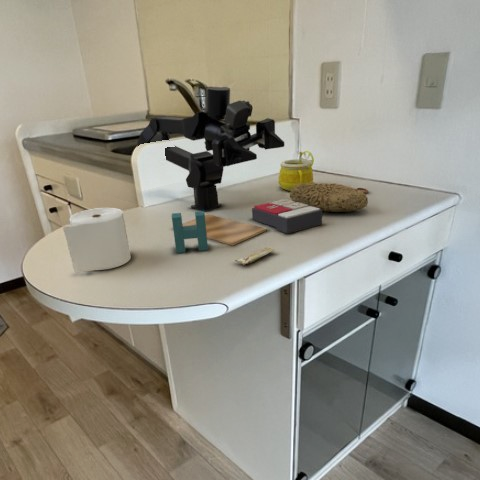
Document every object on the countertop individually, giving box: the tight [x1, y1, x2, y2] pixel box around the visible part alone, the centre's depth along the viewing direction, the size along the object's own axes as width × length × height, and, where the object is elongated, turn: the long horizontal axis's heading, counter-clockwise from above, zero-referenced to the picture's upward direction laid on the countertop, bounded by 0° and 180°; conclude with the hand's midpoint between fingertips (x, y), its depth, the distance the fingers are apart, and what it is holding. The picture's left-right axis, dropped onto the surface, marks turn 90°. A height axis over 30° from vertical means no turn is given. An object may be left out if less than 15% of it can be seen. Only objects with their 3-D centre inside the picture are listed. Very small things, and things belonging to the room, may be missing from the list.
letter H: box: [171, 210, 209, 254], centre depth 96 cm, size 3×7×8 cm, turn 98°
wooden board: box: [182, 214, 267, 246], centre depth 108 cm, size 20×12×1 cm, turn 48°
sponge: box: [289, 181, 369, 213], centre depth 117 cm, size 13×8×20 cm
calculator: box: [251, 198, 323, 234], centre depth 110 cm, size 11×4×15 cm
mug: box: [278, 150, 314, 192], centre depth 136 cm, size 13×11×12 cm
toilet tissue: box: [62, 207, 132, 273], centre depth 91 cm, size 11×12×10 cm
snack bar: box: [234, 247, 276, 266], centre depth 91 cm, size 10×2×3 cm
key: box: [356, 187, 369, 194], centre depth 127 cm, size 6×1×15 cm
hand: (270, 150), depth 101 cm, fingers open, 9 cm apart
